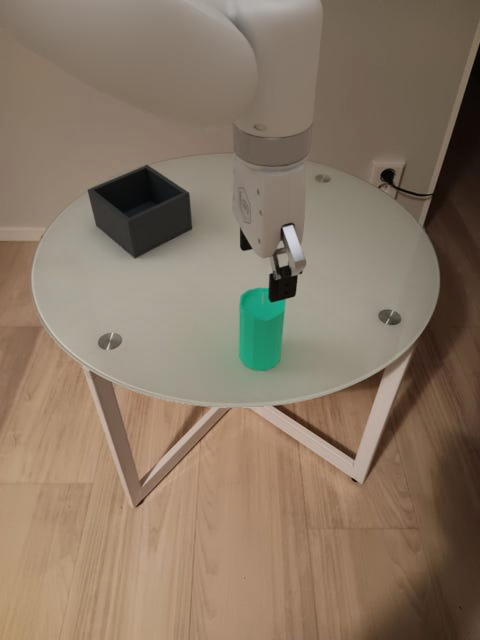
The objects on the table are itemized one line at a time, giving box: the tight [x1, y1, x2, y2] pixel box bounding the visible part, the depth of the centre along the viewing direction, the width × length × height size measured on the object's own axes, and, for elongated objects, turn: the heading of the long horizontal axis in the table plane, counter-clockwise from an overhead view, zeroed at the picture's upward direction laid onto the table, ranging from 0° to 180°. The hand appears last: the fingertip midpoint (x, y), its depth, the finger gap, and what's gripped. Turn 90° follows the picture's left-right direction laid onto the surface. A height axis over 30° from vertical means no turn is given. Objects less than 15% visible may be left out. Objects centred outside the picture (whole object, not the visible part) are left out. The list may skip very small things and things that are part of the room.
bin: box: [87, 164, 193, 259], centre depth 90 cm, size 13×13×8 cm
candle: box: [238, 287, 287, 372], centre depth 68 cm, size 6×6×12 cm
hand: (266, 271), depth 61 cm, fingers open, 9 cm apart
